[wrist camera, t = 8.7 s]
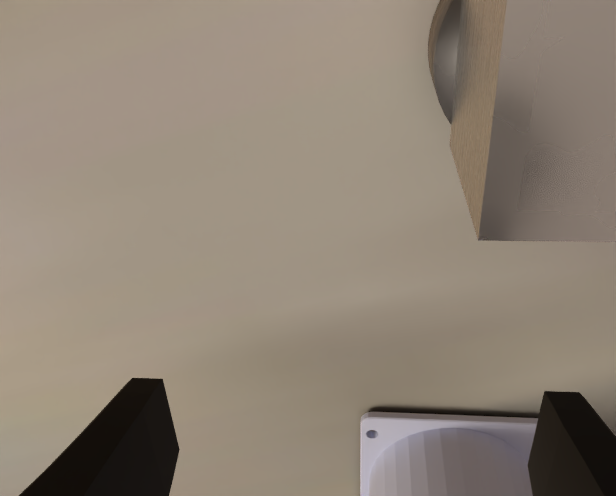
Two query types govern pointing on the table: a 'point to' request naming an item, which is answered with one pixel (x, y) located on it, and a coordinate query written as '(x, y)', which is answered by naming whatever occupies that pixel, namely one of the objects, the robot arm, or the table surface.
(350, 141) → the table surface
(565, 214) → the white wooden cube
